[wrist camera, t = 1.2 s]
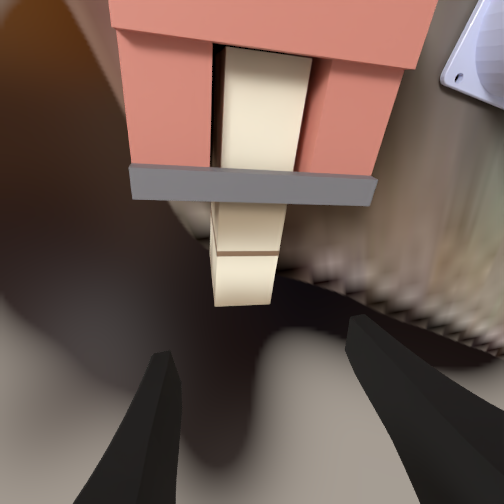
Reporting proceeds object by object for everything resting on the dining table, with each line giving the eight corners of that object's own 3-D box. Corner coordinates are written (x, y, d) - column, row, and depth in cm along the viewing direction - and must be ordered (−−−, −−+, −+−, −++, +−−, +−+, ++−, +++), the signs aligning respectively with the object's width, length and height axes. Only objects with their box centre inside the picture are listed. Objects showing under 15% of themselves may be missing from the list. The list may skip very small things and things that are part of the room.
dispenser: (133, -111, 11) (72, -294, 6) (362, -57, 13) (488, -154, 8) (153, 155, 17) (132, 199, 11) (315, 165, 19) (369, 206, 13)
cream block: (214, 54, 15) (225, 46, 10) (276, 62, 15) (313, 58, 11) (209, 254, 21) (214, 306, 16) (253, 254, 21) (270, 304, 17)
